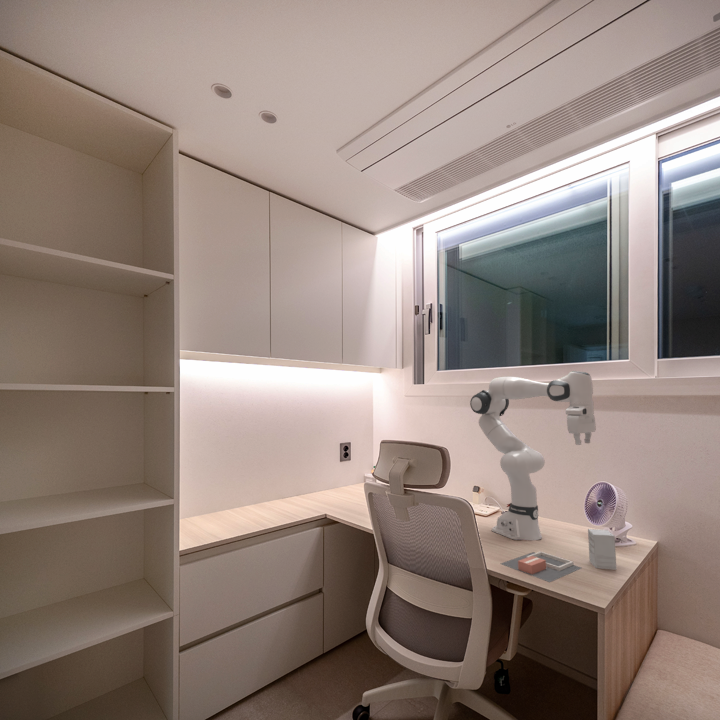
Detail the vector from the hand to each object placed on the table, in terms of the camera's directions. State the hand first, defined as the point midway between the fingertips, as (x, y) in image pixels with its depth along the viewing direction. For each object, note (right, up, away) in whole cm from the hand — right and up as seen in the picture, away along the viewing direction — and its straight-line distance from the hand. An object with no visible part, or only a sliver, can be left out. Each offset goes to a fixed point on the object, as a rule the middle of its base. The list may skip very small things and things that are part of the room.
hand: (583, 444), depth 173 cm
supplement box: (0, -44, -14) cm, 46 cm away
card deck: (-28, -43, -18) cm, 54 cm away
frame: (-19, -43, -11) cm, 49 cm away
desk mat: (-24, -43, -14) cm, 51 cm away
